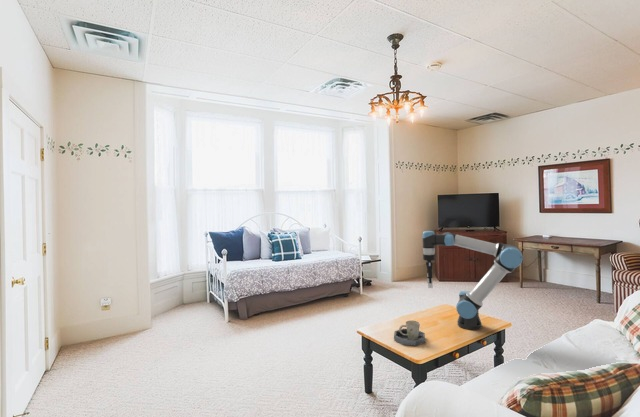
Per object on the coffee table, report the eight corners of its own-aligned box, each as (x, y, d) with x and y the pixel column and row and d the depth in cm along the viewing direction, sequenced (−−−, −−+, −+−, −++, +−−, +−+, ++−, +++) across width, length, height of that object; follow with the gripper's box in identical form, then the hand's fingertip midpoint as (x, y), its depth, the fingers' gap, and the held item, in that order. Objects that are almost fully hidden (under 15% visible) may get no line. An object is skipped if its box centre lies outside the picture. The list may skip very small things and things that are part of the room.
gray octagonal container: (424, 334, 215) (424, 329, 215) (425, 346, 197) (425, 341, 197) (395, 332, 220) (395, 327, 220) (393, 344, 202) (393, 339, 202)
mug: (420, 341, 203) (420, 325, 203) (399, 340, 205) (399, 324, 205) (419, 336, 211) (419, 320, 211) (399, 335, 214) (398, 320, 213)
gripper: (422, 251, 238) (423, 280, 238) (423, 257, 214) (424, 289, 214) (433, 251, 236) (434, 281, 236) (435, 257, 212) (437, 290, 212)
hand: (429, 285), depth 225 cm, fingers open, 13 cm apart
